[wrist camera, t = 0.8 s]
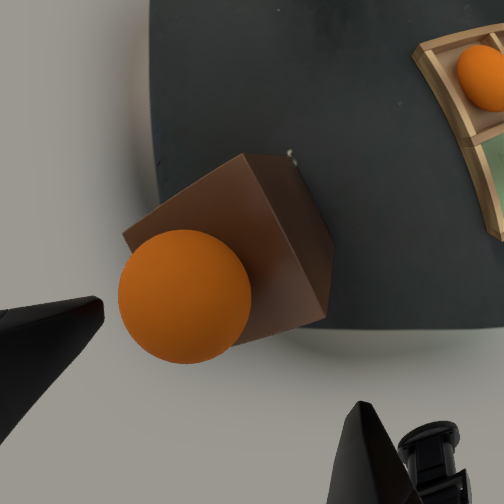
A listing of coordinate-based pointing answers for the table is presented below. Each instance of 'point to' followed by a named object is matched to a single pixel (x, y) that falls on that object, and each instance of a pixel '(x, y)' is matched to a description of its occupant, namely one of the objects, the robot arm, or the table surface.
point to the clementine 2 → (482, 77)
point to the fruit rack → (470, 116)
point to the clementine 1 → (184, 296)
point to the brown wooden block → (258, 237)
